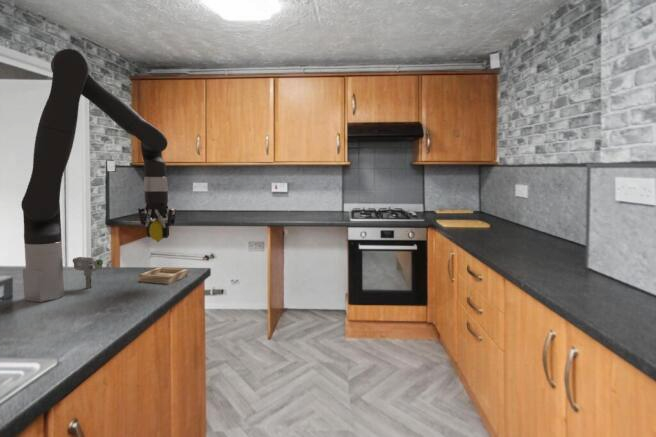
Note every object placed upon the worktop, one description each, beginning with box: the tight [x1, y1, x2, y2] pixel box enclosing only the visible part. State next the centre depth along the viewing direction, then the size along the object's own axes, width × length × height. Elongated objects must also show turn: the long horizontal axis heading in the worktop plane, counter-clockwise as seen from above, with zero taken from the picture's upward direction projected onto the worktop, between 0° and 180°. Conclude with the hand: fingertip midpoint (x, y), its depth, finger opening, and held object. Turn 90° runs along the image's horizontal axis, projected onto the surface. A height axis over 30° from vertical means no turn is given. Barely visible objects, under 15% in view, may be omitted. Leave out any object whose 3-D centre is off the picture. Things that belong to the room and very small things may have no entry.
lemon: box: [149, 219, 164, 243], centre depth 141 cm, size 6×6×8 cm
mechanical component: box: [72, 256, 104, 289], centre depth 132 cm, size 3×10×10 cm, turn 79°
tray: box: [138, 266, 189, 285], centre depth 147 cm, size 12×12×2 cm
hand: (158, 237), depth 141 cm, fingers closed on lemon, 5 cm apart
